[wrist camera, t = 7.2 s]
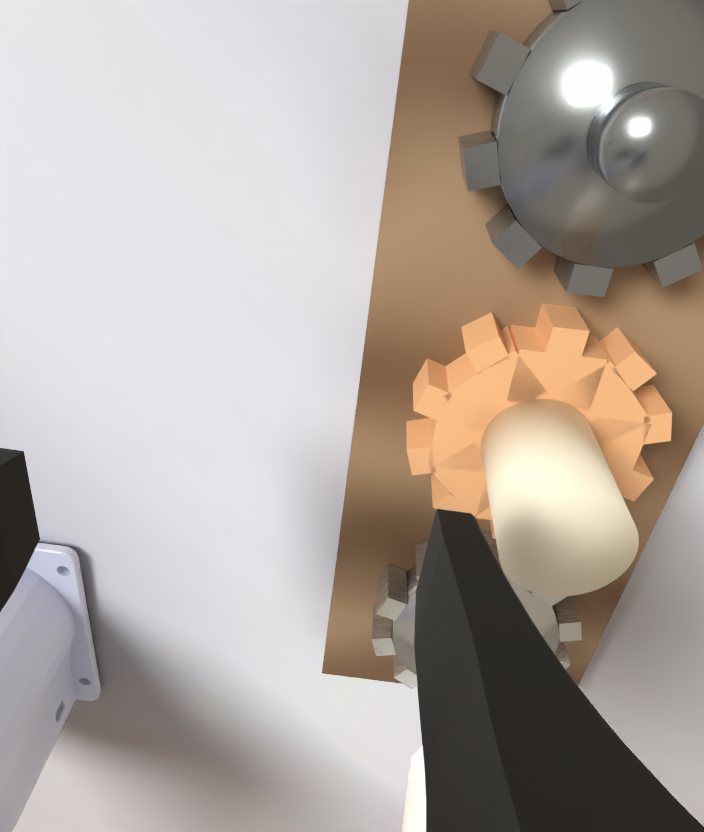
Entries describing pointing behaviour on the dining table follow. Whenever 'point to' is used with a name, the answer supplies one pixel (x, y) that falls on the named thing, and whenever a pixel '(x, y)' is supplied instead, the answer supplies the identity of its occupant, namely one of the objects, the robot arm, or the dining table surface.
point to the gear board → (464, 303)
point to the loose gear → (542, 445)
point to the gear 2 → (398, 616)
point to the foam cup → (415, 796)
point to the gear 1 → (597, 140)
